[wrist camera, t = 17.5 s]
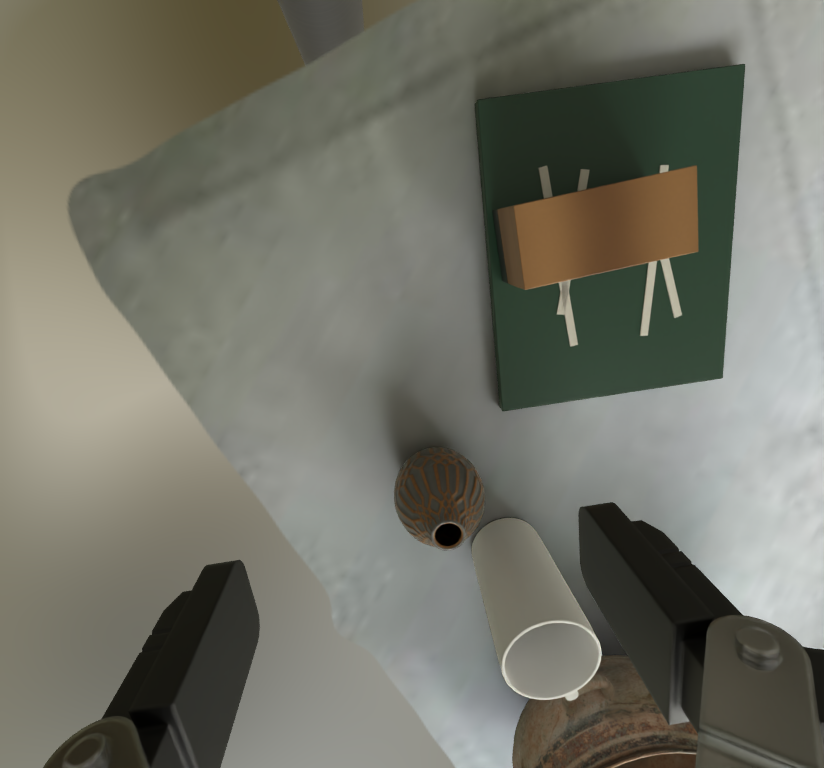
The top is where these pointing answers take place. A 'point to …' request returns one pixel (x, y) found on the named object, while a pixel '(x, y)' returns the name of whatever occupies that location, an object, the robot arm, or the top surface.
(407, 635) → the top surface
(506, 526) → the mug
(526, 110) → the slate board
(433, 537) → the vase
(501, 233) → the eraser
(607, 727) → the cooking pot
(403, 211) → the top surface
